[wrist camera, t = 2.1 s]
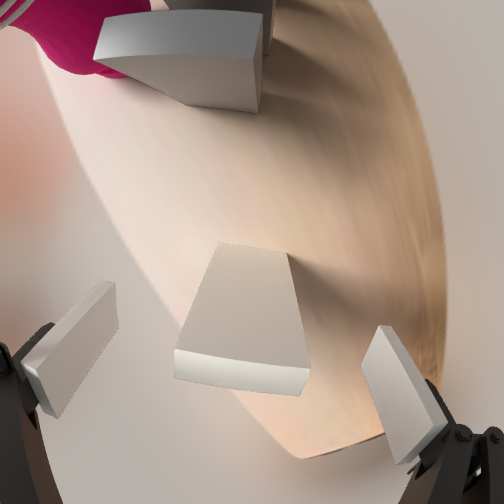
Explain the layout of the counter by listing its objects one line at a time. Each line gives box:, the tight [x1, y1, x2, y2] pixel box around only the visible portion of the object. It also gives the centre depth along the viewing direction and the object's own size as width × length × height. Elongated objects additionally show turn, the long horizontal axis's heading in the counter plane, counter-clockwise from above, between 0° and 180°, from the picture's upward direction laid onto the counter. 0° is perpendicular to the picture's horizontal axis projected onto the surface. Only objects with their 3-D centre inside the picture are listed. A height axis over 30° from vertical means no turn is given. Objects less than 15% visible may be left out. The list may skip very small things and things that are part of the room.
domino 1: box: [93, 9, 263, 114], centre depth 12 cm, size 2×5×12 cm, turn 81°
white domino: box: [174, 242, 311, 396], centre depth 15 cm, size 2×5×12 cm, turn 81°
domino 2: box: [164, 0, 276, 55], centre depth 10 cm, size 2×5×12 cm, turn 80°
